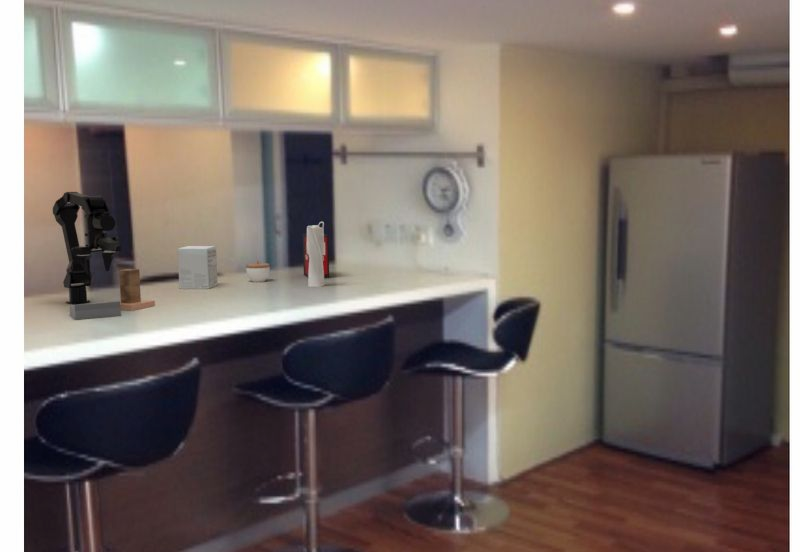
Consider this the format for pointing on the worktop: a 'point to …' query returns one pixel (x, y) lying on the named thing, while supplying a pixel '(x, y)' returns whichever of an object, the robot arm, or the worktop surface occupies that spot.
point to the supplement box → (197, 267)
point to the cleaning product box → (324, 257)
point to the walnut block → (130, 285)
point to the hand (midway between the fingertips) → (98, 272)
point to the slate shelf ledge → (95, 310)
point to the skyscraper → (315, 255)
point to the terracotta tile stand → (137, 305)
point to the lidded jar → (258, 271)
